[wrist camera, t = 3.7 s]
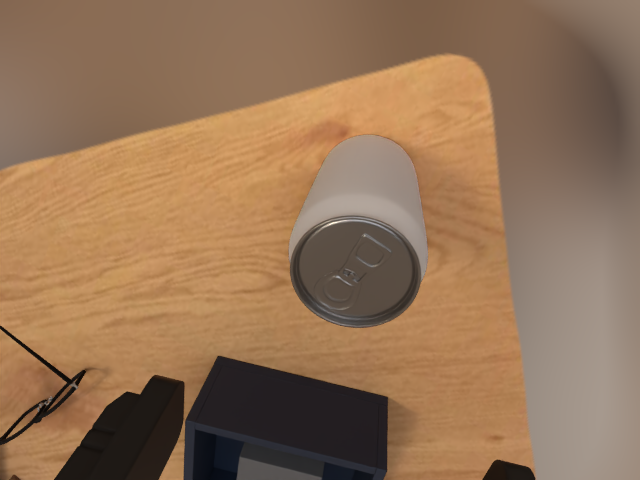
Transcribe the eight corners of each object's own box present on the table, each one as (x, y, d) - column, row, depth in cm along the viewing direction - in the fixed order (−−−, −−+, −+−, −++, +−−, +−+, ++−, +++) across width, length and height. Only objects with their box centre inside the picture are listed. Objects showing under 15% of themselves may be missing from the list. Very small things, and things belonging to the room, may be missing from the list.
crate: (387, 396, 38) (387, 471, 32) (351, 497, 45) (344, 572, 39) (218, 355, 38) (185, 420, 32) (209, 460, 46) (181, 529, 40)
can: (302, 190, 30) (254, 286, 19) (355, 112, 27) (333, 175, 16) (377, 240, 31) (370, 357, 20) (437, 170, 28) (465, 265, 17)
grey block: (330, 426, 39) (322, 478, 35) (317, 471, 42) (308, 524, 38) (256, 407, 39) (239, 457, 35) (249, 454, 43) (233, 504, 38)
